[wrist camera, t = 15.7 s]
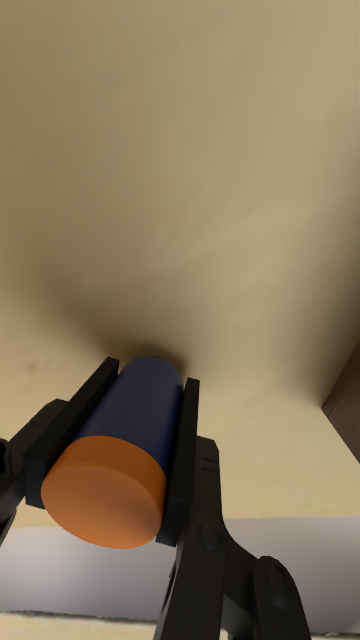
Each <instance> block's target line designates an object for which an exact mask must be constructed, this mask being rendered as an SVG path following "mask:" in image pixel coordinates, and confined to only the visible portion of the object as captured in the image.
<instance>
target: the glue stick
mask: <svg viewBox="0 0 360 640" xmlns="http://www.w3.org/2000/svg"><path fill="white" fill-rule="evenodd" d="M183 392H184V384H183V380H182V377H181V375H180V373H179V372H178V370H177V369H176V368H175V367H174V366H173V365H172V364H170V363H169V362H167V361H166V360H164V359H161V358H158V357H153V356H142V357H138V358H135V359H133V360H131V361H129V362H128V363H127V364H126V365H125V366H124V368H123V369H122V370H121V372H120V373H119V375H118V376H117V378H116V379H115V380H114V382H113V383H112V385H111V386H110V387H109V389H108V390H107V392H106V393H105V395H104V396H103V397H102V399H101V400H100V402H99V403H98V405H97V406H96V407H95V409H94V410H93V412H92V413H91V415H90V416H89V417H88V419H87V420H86V422H85V423H84V425H83V426H82V427H81V429H80V430H79V432H78V433H77V435H76V436H75V437H74V439H73V440H72V442H71V443H70V445H68V446H67V447H66V448H65V450H64V451H63V452H62V454H61V455H60V456H59V458H58V459H57V461H56V462H55V463H54V465H53V466H52V468H51V469H50V471H49V472H48V473H47V475H46V476H45V478H44V480H43V482H42V486H41V497H42V501H43V504H44V506H45V508H46V510H47V511H48V513H49V514H50V516H51V517H52V518H53V519H54V520H55V521H56V522H57V523H58V524H59V525H60V526H61V527H63V528H64V529H65V530H66V531H68V532H70V533H71V534H73V535H74V536H76V537H78V538H80V539H82V540H84V541H87V542H89V543H92V544H95V545H99V546H103V547H109V548H118V549H126V548H134V547H138V546H141V545H144V544H146V543H148V542H149V541H151V540H152V539H153V538H154V537H155V536H156V535H157V534H158V532H159V530H160V528H161V525H162V520H163V514H164V508H165V502H166V496H167V490H168V489H167V483H168V478H169V472H170V466H171V461H172V455H173V449H174V444H175V438H176V432H177V426H178V421H179V415H180V409H181V404H182V398H183Z"/></svg>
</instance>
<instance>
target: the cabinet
mask: <svg viewBox="0 0 360 640" xmlns="http://www.w3.org/2000/svg"><path fill="white" fill-rule="evenodd" d="M322 411H323V412H324V414H325V415H326V417H327V418H328V420H329V421H330V423H331V424H332V425H333V427H334V428H335V430H336V431H337V432H338V434H339V435H340V437H341V438H342V439H343V441H344V442H345V444H346V445H347V447H348V448H349V449H350V451H351V452H352V454H353V455H354V456H355V458H356V459H357V461H358V462H359V463H360V342H359V344H358V346H357V348H356V349H355V351H354V353H353V355H352V356H351V358H350V360H349V362H348V364H347V365H346V367H345V369H344V371H343V372H342V374H341V376H340V378H339V380H338V381H337V383H336V385H335V387H334V389H333V390H332V392H331V394H330V396H329V397H328V399H327V401H326V403H325V405H324V406H323V408H322Z"/></svg>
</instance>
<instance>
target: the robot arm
mask: <svg viewBox="0 0 360 640" xmlns="http://www.w3.org/2000/svg"><path fill="white" fill-rule="evenodd" d="M119 362H120V360H119V359H115V358H111V357H107V358H106V359H105V361H104V362H103V363H102V364H101V365H100V366H99V367H98V369H97V370H96V371H95V372H94V373H93V374H92V375H91V377H90V378H89V379H88V380H87V381H86V382H85V383H84V385H83V386H82V387H81V388H80V389H79V390H78V391H77V393H76V394H75V395H74V396H73V397H72V398H71V399H70V401H69V402H68V401H64V400H61V399H55V400H53V401H51V402H50V403H48V404H46V405H45V406H44V407H43V408H42V409H41V410H40V411H39V412H38V413H37V415H35V416H34V417H33V418H32V419H31V420H30V421H29V423H27V424H26V425H25V426H24V427H23V428H22V429H21V430H20V431H19V432H18V433H17V434H16V435H15V436H14V437H13V438H12V439H11V440H10V441H9V442H8V441H7V440H5V439H1V438H0V547H1V545H2V543H3V540H4V539H5V537H6V535H7V533H8V530H9V529H10V527H11V525H12V523H13V521H14V518H15V515H16V512H17V511H16V507H17V506H18V505H19V503H20V502H21V500H22V499H23V498H24V496H25V500H26V504H27V505H30V506H34V507H37V508H41V509H44V510H45V509H46V508H45V506H44V504H43V501H42V497H41V486H42V482H43V480H44V478H45V476H46V475H47V473H48V472H49V471H50V469H51V468H52V466H53V465H54V463H55V462H56V461H57V459H58V458H59V456H60V455H61V454H62V452H63V451H64V450H65V448H66V447H67V446H68V445H70V443H71V442H72V440H73V439H74V437H75V436H76V435H77V433H78V432H79V430H80V429H81V427H82V426H83V425H84V423H85V422H86V420H87V419H88V417H89V416H90V415H91V413H92V412H93V410H94V409H95V407H96V406H97V405H98V403H99V402H100V400H101V399H102V397H103V396H104V395H105V393H106V392H107V390H108V389H109V387H110V386H111V385H112V383H113V382H114V380H115V379H116V378H117V376H118V369H119ZM199 386H200V380H197V379H193V378H189V377H188V378H187V382H186V385H185V389H184V393H183V398H182V404H181V409H180V415H179V421H178V426H177V432H176V438H175V444H174V449H173V455H172V461H171V466H170V472H169V478H168V483H167V489H168V490H167V496H166V502H165V508H164V514H163V520H162V525H161V528H160V530H159V532H158V534H157V535H156V542H158V543H161V544H165V545H168V546H172V547H176V545H177V553H176V560H175V563H174V565H173V567H172V570H171V572H170V575H169V578H170V579H169V583H168V586H167V590H166V594H165V597H164V601H163V605H162V608H161V612H160V616H159V619H158V623H157V627H156V630H155V634H154V638H153V640H219V638H220V628H221V626H222V627H223V628H224V629H225V630H226V631H227V632H228V640H312V639H311V636H310V632H309V628H308V625H307V621H306V617H305V614H304V610H303V606H302V603H301V599H300V595H299V592H298V590H297V587H296V585H295V582H294V580H293V578H292V576H291V575H290V573H289V572H288V570H287V569H286V568H285V567H284V566H283V565H282V564H281V563H280V562H279V561H278V560H277V559H274V558H273V557H271V556H262V557H260V558H259V559H257V558H256V557H254V556H253V555H252V554H250V553H249V552H248V551H246V550H245V549H243V548H242V547H241V546H240V545H239V544H238V543H236V542H235V541H234V540H233V538H232V537H231V536H230V534H229V532H228V531H227V529H226V527H225V524H224V521H223V516H222V503H221V483H220V465H219V450H218V448H217V446H216V443H215V441H214V440H212V439H208V438H205V437H201V436H197V420H198V403H199Z"/></svg>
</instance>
